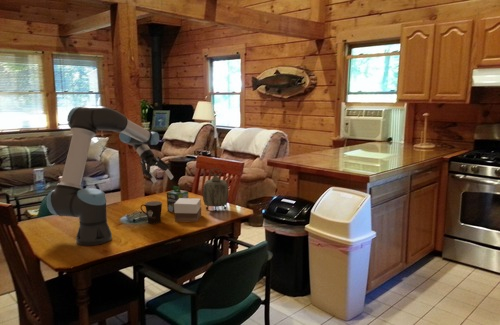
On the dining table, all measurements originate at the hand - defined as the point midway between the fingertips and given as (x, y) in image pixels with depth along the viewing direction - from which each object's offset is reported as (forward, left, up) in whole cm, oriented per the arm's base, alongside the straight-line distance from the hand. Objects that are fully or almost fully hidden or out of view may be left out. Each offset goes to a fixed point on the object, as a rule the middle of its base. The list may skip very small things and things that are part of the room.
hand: (164, 180), depth 229 cm
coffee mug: (-25, 0, -17) cm, 30 cm away
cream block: (-19, -18, -12) cm, 29 cm away
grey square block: (-19, -18, -17) cm, 32 cm away
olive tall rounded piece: (-4, -31, -17) cm, 36 cm away
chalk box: (-5, -9, -17) cm, 20 cm away
